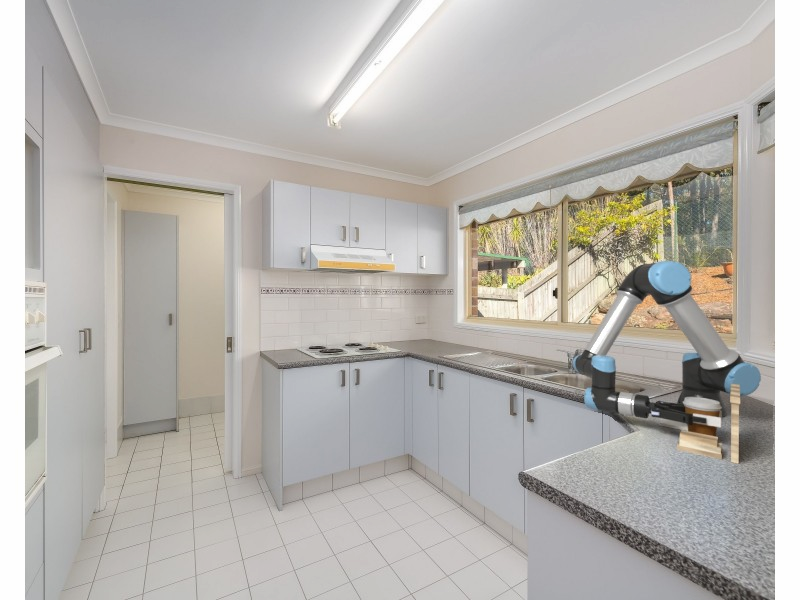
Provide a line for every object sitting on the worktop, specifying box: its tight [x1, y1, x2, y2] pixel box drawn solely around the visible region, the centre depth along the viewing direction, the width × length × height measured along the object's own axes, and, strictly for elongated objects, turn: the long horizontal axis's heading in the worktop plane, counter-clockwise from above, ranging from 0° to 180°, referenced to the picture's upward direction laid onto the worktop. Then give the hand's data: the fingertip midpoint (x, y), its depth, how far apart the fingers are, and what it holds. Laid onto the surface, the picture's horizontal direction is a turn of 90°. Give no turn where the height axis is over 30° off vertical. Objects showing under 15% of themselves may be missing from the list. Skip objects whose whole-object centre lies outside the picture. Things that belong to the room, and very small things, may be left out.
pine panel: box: [729, 383, 741, 465], centre depth 112 cm, size 25×2×17 cm, turn 139°
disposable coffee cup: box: [683, 397, 722, 437], centre depth 119 cm, size 10×10×12 cm
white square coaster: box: [658, 418, 688, 431], centre depth 134 cm, size 12×12×1 cm
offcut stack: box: [676, 430, 724, 460], centre depth 110 cm, size 6×10×5 cm, turn 48°
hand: (721, 418), depth 116 cm, fingers closed on disposable coffee cup, 8 cm apart
